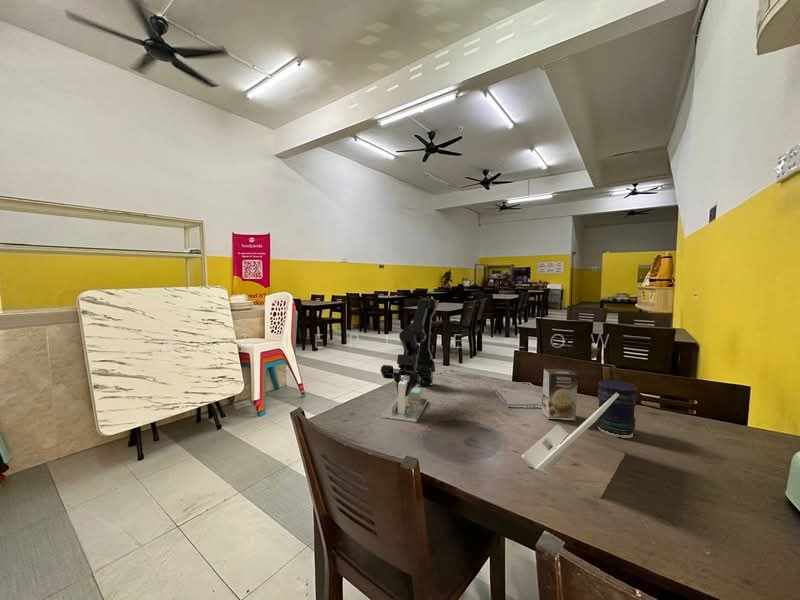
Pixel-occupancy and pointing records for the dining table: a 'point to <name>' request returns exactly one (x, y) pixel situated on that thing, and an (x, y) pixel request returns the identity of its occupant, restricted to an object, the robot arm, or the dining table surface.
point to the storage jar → (617, 407)
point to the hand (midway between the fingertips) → (402, 395)
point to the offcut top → (415, 393)
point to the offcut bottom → (414, 399)
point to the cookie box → (559, 393)
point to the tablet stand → (558, 442)
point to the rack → (411, 412)
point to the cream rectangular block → (402, 396)
